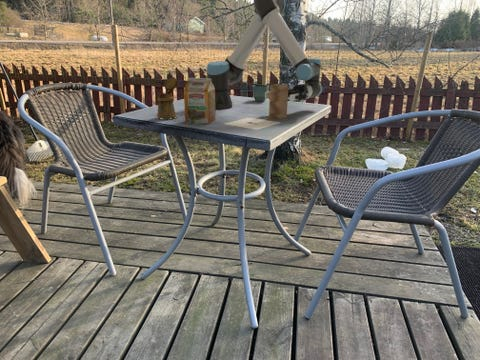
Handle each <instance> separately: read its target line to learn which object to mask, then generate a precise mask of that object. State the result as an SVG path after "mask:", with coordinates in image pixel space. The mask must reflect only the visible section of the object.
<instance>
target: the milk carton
mask: <svg viewBox="0 0 480 360" xmlns="http://www.w3.org/2000/svg"><path fill="white" fill-rule="evenodd" d="M183 99H184V100H183V102H184V118H185V123H191V124H190V125H211V124H212V123H213V122H214V121H216V109H215V88H214V85H213V84H212V82H211V79H210V78H207V77H206V78H205V77H204V78H202V77H188V78H187V81H186V85H185V86H184V89H183Z"/></svg>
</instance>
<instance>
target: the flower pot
mask: <svg viewBox="0 0 480 360" xmlns="http://www.w3.org/2000/svg"><path fill="white" fill-rule="evenodd" d="M269 90H270V84H254V85H252V96H253V99H254V100H255V102H265V101H266V100H267V98H265V92H269Z"/></svg>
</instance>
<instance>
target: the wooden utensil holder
mask: <svg viewBox="0 0 480 360" xmlns="http://www.w3.org/2000/svg"><path fill="white" fill-rule="evenodd" d="M177 86H178V80H177V79H176V77H175V76H171V77H169V78H168V79H167V80H166V81H165V84H164V87H165V89H166V92H165V93H163V92H162V93H158V95H157V114H156V118H157V117H158V118H163V119H170V118H175V117H176V118H177V114H176V111H175V106H174V97H173V93H172V92H173V90H175V89H176V87H177ZM176 118H175V119H176Z"/></svg>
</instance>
